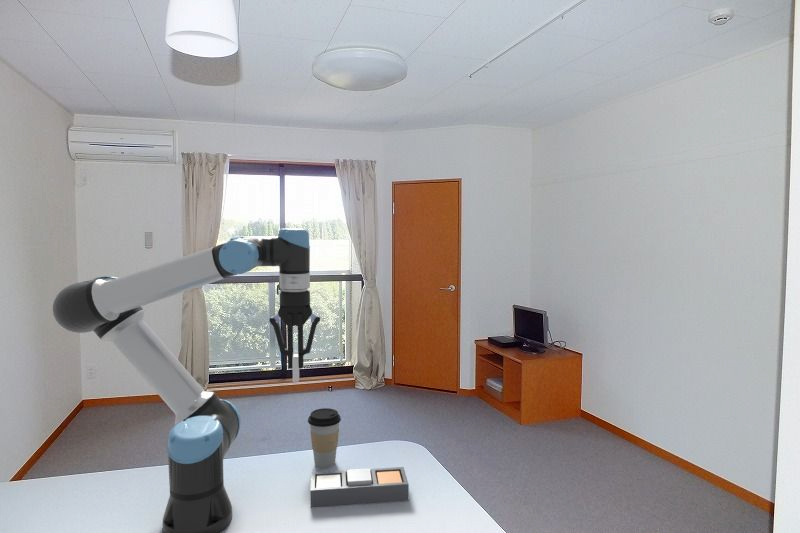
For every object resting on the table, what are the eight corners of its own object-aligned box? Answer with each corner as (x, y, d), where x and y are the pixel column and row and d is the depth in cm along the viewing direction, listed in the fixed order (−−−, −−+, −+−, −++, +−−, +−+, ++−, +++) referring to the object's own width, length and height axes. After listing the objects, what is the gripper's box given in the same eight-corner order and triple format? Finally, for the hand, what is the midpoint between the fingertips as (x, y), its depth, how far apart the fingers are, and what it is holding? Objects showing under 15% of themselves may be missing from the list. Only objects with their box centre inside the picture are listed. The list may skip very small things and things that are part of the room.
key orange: (378, 491, 127) (378, 484, 127) (376, 479, 133) (376, 472, 133) (402, 490, 128) (402, 482, 128) (399, 478, 134) (399, 470, 134)
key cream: (316, 495, 125) (316, 488, 125) (317, 483, 131) (316, 475, 131) (340, 494, 126) (340, 486, 126) (340, 481, 132) (340, 474, 132)
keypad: (310, 507, 124) (310, 490, 123) (311, 488, 132) (311, 472, 132) (408, 500, 127) (408, 484, 127) (403, 482, 136) (403, 466, 135)
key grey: (347, 489, 126) (347, 481, 126) (347, 476, 132) (347, 469, 132) (371, 487, 127) (371, 480, 127) (369, 475, 133) (369, 468, 132)
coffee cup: (338, 471, 141) (338, 420, 140) (305, 470, 142) (304, 419, 140) (343, 455, 151) (342, 407, 149) (311, 455, 151) (311, 406, 149)
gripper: (266, 292, 123) (268, 385, 125) (320, 291, 124) (321, 384, 127) (270, 287, 130) (271, 376, 132) (321, 287, 132) (321, 374, 134)
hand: (296, 380), depth 129 cm, fingers closed
